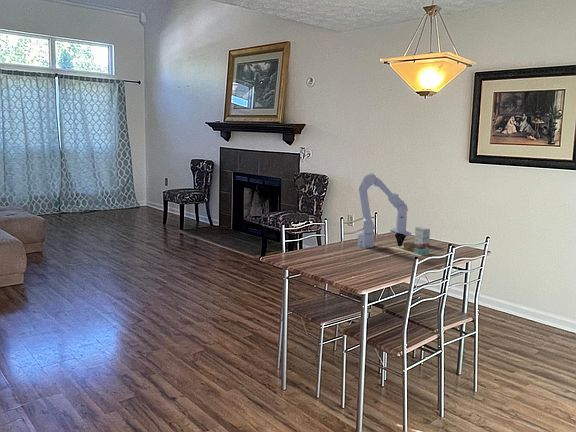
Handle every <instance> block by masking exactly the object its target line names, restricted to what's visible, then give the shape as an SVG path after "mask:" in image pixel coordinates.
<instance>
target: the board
mask: <svg viewBox="0 0 576 432" xmlns="http://www.w3.org/2000/svg"><path fill="white" fill-rule="evenodd" d="M388 249H390V250H394V251H398V252H402V253H405V254H410V255H413V256H416V257H421V256H426V255H430V254H431V255H432V254H433V252H430V251H429V254H424V255H418V254H414V252H410V251H407V250H404V244H402V246H400V247H399V246H398V245H396V246H391V247H390V246H389V247H388Z"/></svg>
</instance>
